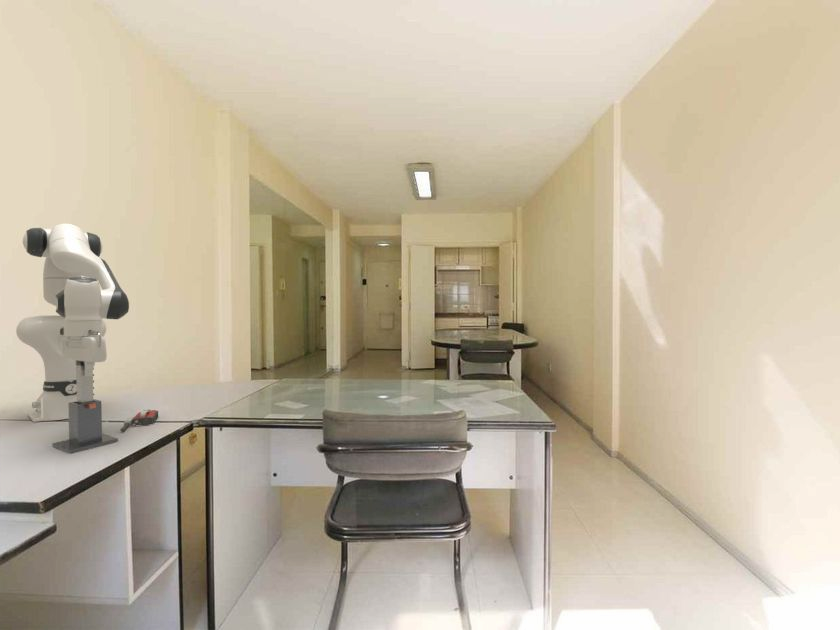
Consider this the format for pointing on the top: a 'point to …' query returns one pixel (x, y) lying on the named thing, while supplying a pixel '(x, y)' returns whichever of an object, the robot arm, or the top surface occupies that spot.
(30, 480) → the top surface
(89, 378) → the column
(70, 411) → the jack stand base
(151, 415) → the walkie-talkie
